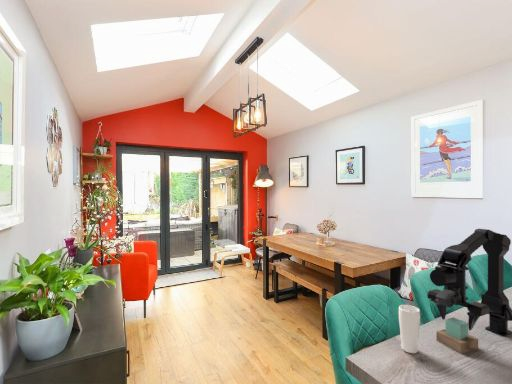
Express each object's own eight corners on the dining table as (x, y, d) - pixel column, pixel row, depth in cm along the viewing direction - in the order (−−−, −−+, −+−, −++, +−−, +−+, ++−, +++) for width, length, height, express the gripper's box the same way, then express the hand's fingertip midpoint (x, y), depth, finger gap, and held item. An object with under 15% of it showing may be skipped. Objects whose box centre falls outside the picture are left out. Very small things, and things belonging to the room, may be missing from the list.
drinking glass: (423, 356, 95) (423, 313, 95) (402, 354, 97) (401, 311, 97) (416, 345, 102) (415, 305, 102) (396, 343, 103) (396, 303, 103)
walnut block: (453, 337, 108) (453, 327, 108) (478, 349, 100) (478, 338, 100) (436, 341, 105) (436, 331, 105) (460, 354, 97) (460, 343, 97)
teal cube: (453, 330, 106) (453, 317, 106) (468, 336, 101) (468, 322, 101) (445, 333, 104) (445, 319, 104) (460, 339, 99) (460, 325, 99)
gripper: (417, 278, 108) (418, 318, 108) (471, 294, 91) (471, 341, 91) (436, 274, 112) (436, 313, 112) (490, 289, 95) (490, 334, 95)
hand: (456, 324), depth 102 cm, fingers open, 9 cm apart
